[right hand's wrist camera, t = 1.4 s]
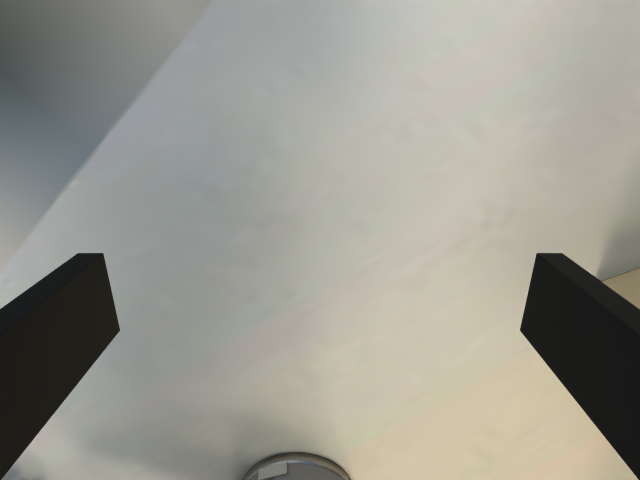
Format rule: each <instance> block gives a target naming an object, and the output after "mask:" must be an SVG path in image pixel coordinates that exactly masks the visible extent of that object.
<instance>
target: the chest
mask: <svg viewBox="0 0 640 480" xmlns="http://www.w3.org/2000/svg"><path fill="white" fill-rule="evenodd" d="M601 282H603V283H604V284H605V285H607V286H608V287H610V288H611V289H612V290H614V291H615V292H616V293H618V294H619V295H621V296H622V297H623V298H625V299H626V300H628V301H629V302H630V303H632V304H633V305H635V306H636V307H637V308H639V309H640V268H638V269H636V270H633V271H630V272H627V273H624V274H621V275H618V276H615V277H613V278H610V279H607V280H604V281H601Z"/></svg>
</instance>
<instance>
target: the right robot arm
mask: <svg viewBox="0 0 640 480" xmlns="http://www.w3.org/2000/svg"><path fill="white" fill-rule="evenodd" d="M119 331H120V328H119V323H118V319H117V314H116V310H115V305H114V300H113V296H112V291H111V287H110V282H109V278H108V273H107V268H106V264H105V259H104V255H103V253H78V254H76V255H75V256H73V257H72V258H71V259H69V260H68V261H67V262H65V263H64V264H62V265H61V266H60V267H58V268H57V269H55V270H54V271H53V272H51V273H50V274H49V275H47V276H46V277H44V278H43V279H42V280H40V281H39V282H37V283H36V284H35V285H33V286H32V287H30V288H29V289H28V290H26V291H25V292H24V293H22V294H21V295H19V296H18V297H17V298H15V299H14V300H12V301H11V302H10V303H8V304H7V305H5V306H4V307H3V308H1V309H0V480H1V479H2V478H3V477H4V475H5V474H6V473H7V472H8V470H9V469H10V468H11V467H12V465H13V464H14V463H15V462H16V460H17V459H18V458H19V457H20V455H21V454H22V453H23V452H24V450H25V449H26V448H27V447H28V445H29V444H30V443H31V442H32V440H33V439H34V438H35V436H36V435H37V434H38V433H39V431H40V430H41V429H42V428H43V426H44V425H45V424H46V423H47V421H48V420H49V419H50V418H51V416H52V415H53V414H54V413H55V411H56V410H57V409H58V408H59V406H60V405H61V404H62V403H63V401H64V400H65V399H66V398H67V396H68V395H69V394H70V392H71V391H72V390H73V389H74V387H75V386H76V385H77V384H78V382H79V381H80V380H81V379H82V377H83V376H84V375H85V374H86V372H87V371H88V370H89V369H90V367H91V366H92V365H93V364H94V362H95V361H96V360H97V359H98V357H99V356H100V355H101V354H102V352H103V351H104V350H105V349H106V347H107V346H108V345H109V343H110V342H111V341H112V340H113V338H114V337H115V336H116V335H117V333H118V332H119ZM520 331H521V332H522V333H523V335H524V336H525V337H526V338H527V340H528V341H529V342H530V343H531V345H532V346H533V347H534V349H535V350H536V351H537V352H538V354H539V355H540V356H541V357H542V359H543V360H544V361H545V362H546V364H547V365H548V366H549V367H550V369H551V370H552V371H553V372H554V374H555V375H556V376H557V377H558V379H559V380H560V381H561V382H562V384H563V385H564V386H565V387H566V389H567V390H568V391H569V392H570V394H571V395H572V396H573V398H574V399H575V400H576V401H577V403H578V404H579V405H580V406H581V408H582V409H583V410H584V411H585V413H586V414H587V415H588V416H589V418H590V419H591V420H592V421H593V423H594V424H595V425H596V426H597V428H598V429H599V430H600V431H601V433H602V434H603V435H604V436H605V438H606V439H607V440H608V442H609V443H610V444H611V445H612V447H613V448H614V449H615V450H616V452H617V453H618V454H619V455H620V457H621V458H622V459H623V460H624V462H625V463H626V464H627V465H628V467H629V468H630V469H631V470H632V472H633V473H634V474H635V475H636V477H637V478H638V479H639V480H640V309H639V308H637V307H636V306H635V305H633V304H632V303H630V302H629V301H628V300H626V299H625V298H623V297H622V296H621V295H619V294H618V293H616V292H615V291H614V290H612V289H611V288H610V287H608V286H607V285H605V284H604V283H603V282H601V281H600V280H598V279H597V278H596V277H594V276H593V275H591V274H590V273H589V272H587V271H586V270H585V269H583V268H582V267H580V266H579V265H578V264H576V263H575V262H573V261H572V260H571V259H569V258H568V257H567V256H565V255H564V254H562V253H537V255H536V259H535V264H534V268H533V273H532V278H531V282H530V287H529V291H528V296H527V300H526V305H525V310H524V314H523V319H522V323H521V328H520ZM243 480H350V478H349V477H348V475H347V474H346V473H345V472H344V471H343V470H342V469H341V468H340V467H339V466H337V465H336V464H334V463H332V462H331V461H329V460H326V459H324V458H321V457H318V456H314V455H309V454H300V453H291V454H282V455H277V456H274V457H270V458H268V459H265V460H263V461H261V462H259V463H258V464H256V465H255V466H254V467H252V468H251V469H250V470H249V471H248V472H247V474H246V475H245V476H244V478H243Z"/></svg>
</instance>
